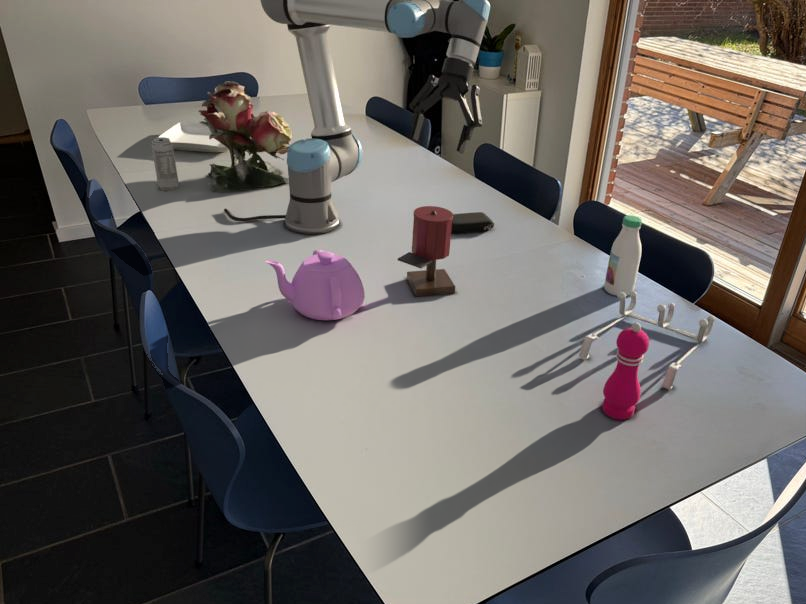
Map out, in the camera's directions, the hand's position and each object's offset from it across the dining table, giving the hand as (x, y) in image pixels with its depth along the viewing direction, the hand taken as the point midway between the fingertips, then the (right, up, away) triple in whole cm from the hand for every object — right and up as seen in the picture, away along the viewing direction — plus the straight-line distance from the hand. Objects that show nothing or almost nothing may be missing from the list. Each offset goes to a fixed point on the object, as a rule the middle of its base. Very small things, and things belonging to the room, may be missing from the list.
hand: (436, 146), depth 184 cm
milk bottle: (+47, -36, +5) cm, 60 cm away
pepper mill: (+39, -65, -40) cm, 85 cm away
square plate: (-91, +25, +83) cm, 126 cm away
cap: (-2, -29, -7) cm, 30 cm away
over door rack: (+49, -52, -19) cm, 74 cm away
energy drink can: (-87, 0, +43) cm, 97 cm away
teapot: (-27, -43, -15) cm, 53 cm away
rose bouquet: (-67, +7, +57) cm, 88 cm away
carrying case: (+7, -15, +33) cm, 37 cm away
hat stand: (-2, -36, -1) cm, 36 cm away
